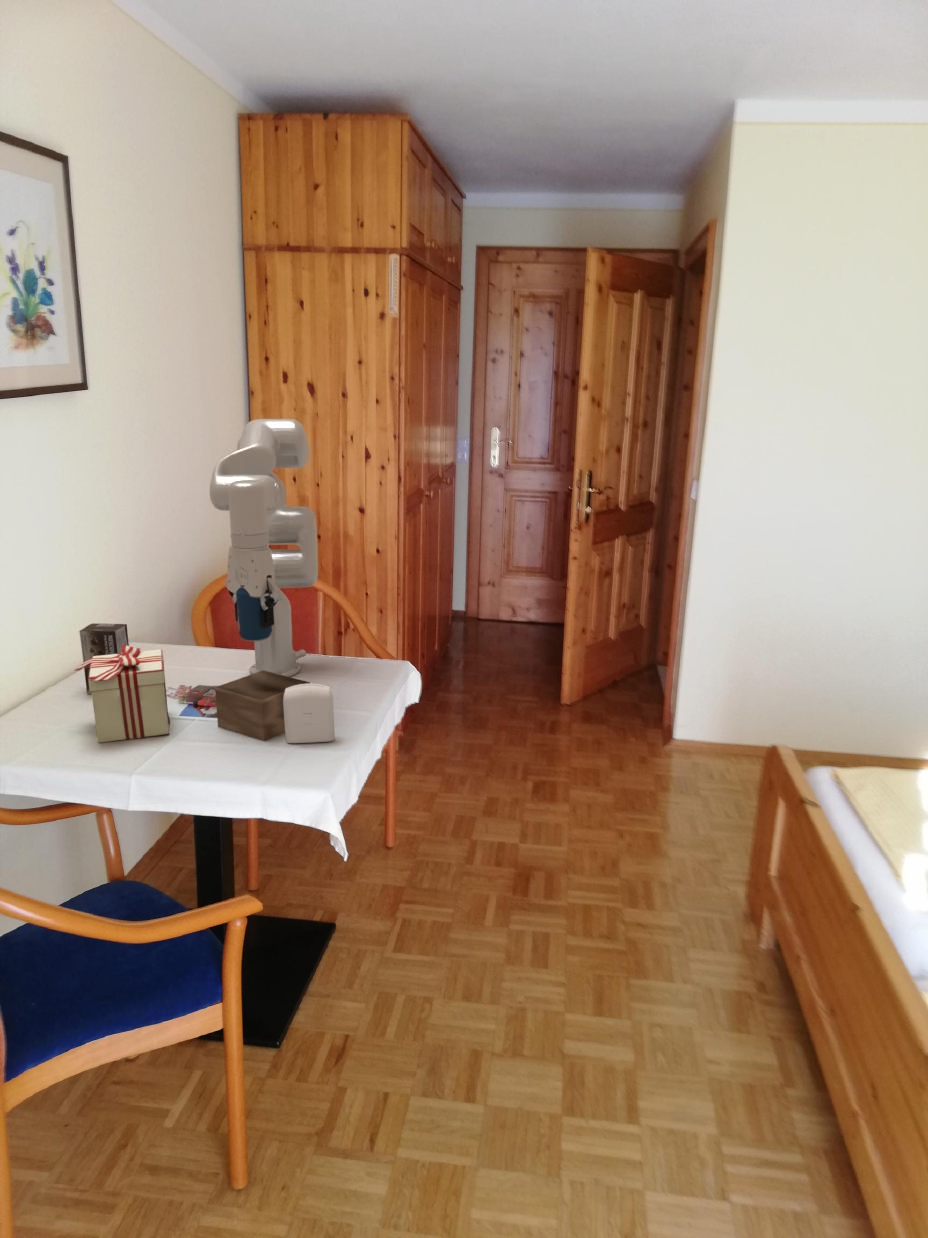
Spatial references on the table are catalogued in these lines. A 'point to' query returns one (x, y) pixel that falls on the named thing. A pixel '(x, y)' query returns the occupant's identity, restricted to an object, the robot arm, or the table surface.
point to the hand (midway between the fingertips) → (254, 622)
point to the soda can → (250, 617)
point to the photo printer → (308, 713)
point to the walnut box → (254, 704)
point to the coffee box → (101, 642)
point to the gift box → (128, 694)
